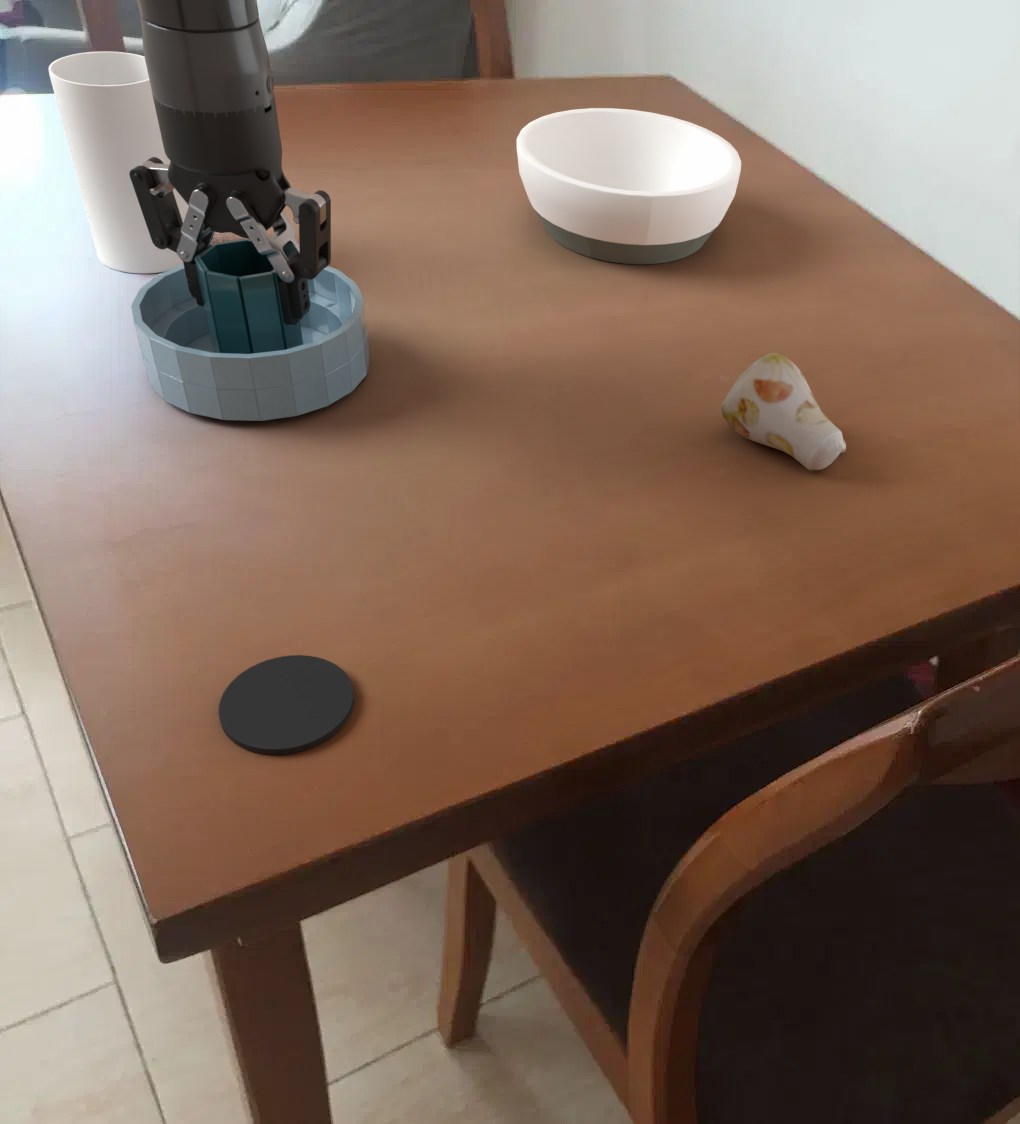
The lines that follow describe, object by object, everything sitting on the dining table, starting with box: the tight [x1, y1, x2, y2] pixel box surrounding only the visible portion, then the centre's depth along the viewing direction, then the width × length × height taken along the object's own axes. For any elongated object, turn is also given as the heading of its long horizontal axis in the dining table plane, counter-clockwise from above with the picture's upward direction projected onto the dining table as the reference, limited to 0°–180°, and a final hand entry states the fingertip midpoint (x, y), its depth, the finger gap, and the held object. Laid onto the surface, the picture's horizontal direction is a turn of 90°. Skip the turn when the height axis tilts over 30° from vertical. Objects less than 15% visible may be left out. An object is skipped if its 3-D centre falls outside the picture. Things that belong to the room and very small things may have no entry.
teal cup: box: [195, 238, 303, 354], centre depth 86 cm, size 6×6×9 cm
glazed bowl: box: [130, 264, 371, 422], centre depth 87 cm, size 16×16×6 cm
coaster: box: [218, 654, 355, 756], centre depth 64 cm, size 7×7×1 cm
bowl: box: [515, 107, 742, 265], centre depth 115 cm, size 22×22×8 cm
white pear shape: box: [720, 352, 847, 471], centre depth 89 cm, size 8×10×10 cm
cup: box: [48, 51, 189, 274], centre depth 96 cm, size 8×8×16 cm
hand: (252, 310), depth 86 cm, fingers closed on teal cup, 6 cm apart
